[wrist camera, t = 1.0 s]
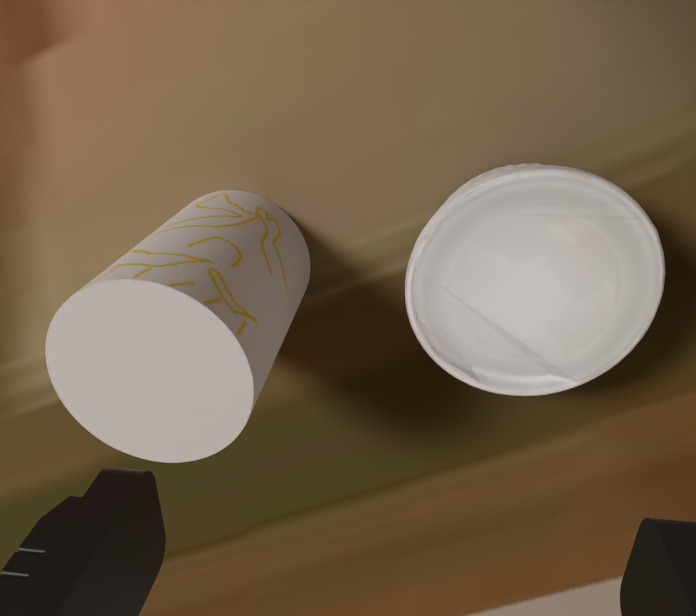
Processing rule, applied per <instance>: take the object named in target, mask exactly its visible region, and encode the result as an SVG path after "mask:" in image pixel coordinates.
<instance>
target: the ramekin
mask: <svg viewBox="0 0 696 616" xmlns="http://www.w3.org/2000/svg"><path fill="white" fill-rule="evenodd" d="M664 281H665V260H664V252H663V248H662V245H661V241H660V238H659V234H658V231H657V229H656V228H655V226H654V225H653V223H652V221H651V220H650V218H649V217H648V215H647V214H646V213H645V211H644V210H643V209H642V208H641V206H640V205H639V204H638V203H637V202H636V201H635V200H634V199H633V198H632V197H631V196H629V195H628V194H627V193H626V192H625V191H623V190H622V189H621V188H620V187H618V186H617V185H615V184H613V183H612V182H610V181H608V180H606V179H604V178H602V177H600V176H597V175H595V174H592V173H589V172H586V171H583V170H580V169H576V168H571V167H565V166H555V165H542V164H539V163H534V164H526V163H522V164H519V165H507V166H505V167H501V168H496V169H493V170H491V171H488V172H485V173H482V174H481V175H479V176H477V177H475V178H473V179H471V180H470V181H468V182H467V183H466V184H464V185H462V186H461V187H459V188H458V190H457V191H456V192H455V193H453V194H452V195H451V196H450V197H449V198H448V199H447V200H446V202H445V203H444V204H443V205H442V206H441V207H440V208H439V210H438V211H437V212H436V213H435V215H434V216H433V217H432V218H431V219H430V221H429V222H428V223H427V225H426V226H425V227H424V229H423V230H422V232H421V234H420V235H419V237H418V239H417V241H416V243H415V246H414V248H413V251H412V253H411V256H410V259H409V263H408V267H407V272H406V280H405V301H406V308H407V313H408V317H409V321H410V324H411V326H412V329H413V331H414V333H415V335H416V337H417V339H418V341H419V342H420V344H421V345H422V347H423V348H424V350H425V351H426V352H427V354H428V355H429V356H430V357H431V358H432V359H433V360H434V361H435V362H436V363H437V364H438V365H439V366H440V367H441V368H443V369H444V370H445V371H446V372H448V373H449V374H451V375H452V376H454V377H455V378H457V379H459V380H461V381H463V382H465V383H467V384H469V385H471V386H473V387H476V388H479V389H482V390H485V391H488V392H493V393H498V394H505V395H514V396H536V395H547V394H552V393H557V392H561V391H564V390H568V389H571V388H574V387H577V386H579V385H582V384H584V383H586V382H589V381H590V380H592V379H594V378H596V377H598V376H600V375H601V374H603V373H605V372H606V371H608V370H609V369H611V368H612V367H613V366H615V365H616V364H617V363H619V362H620V361H621V360H622V359H623V358H624V357H625V356H627V355H628V354H629V353H630V352H631V351H632V350H633V348H634V347H635V346H636V345H637V343H638V342H639V341H640V340H641V339H642V338H643V336H644V334H645V333H646V332H647V330H648V328H649V326H650V325H651V323H652V321H653V319H654V317H655V314H656V312H657V309H658V306H659V304H660V301H661V297H662V293H663V289H664Z"/></svg>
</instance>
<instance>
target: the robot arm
mask: <svg viewBox="0 0 696 616" xmlns="http://www.w3.org/2000/svg"><path fill="white" fill-rule="evenodd" d="M165 541H166V538H165V529H164V524H163V519H162V513H161V508H160V503H159V497H158V492H157V486H156V481H155V477H154V475H153V473H152V472H150V471H142V470H131V469H120V468H109V467H108V468H105V469H103V470H102V471H101V472H100V473H99V474H98V476H97V477H96V478H95V480H94V481H93V483H92V484H91V486H90V487H89V489H88V490H87V491H86V493H85V494H84V496H83V497H73V496H69V497H68V498H67V499H65V500H64V501H63V502H61V503H60V504H59V505H57V506H56V507H55V508H54V509H52V510H51V511H50V512H48V513H47V514H46V515H44V516H43V517H42V518H40V520H39V521H38V522H37V524H36V525H35V526H34V528H33V529H32V530H31V532H30V533H29V534H28V536H27V537H26V538H25V540H24V541H23V542H22V544H21V545H20V546H19V547H20V548H19V551H18V552H15V553H14V554H13V556H12V557H11V558H10V560H9V561H8V563H7V564H6V565H5V567H4V568H3V569H2V574H1V576H0V616H139V613H140V611H141V609H142V607H143V605H144V603H145V601H146V599H147V596H148V594H149V592H150V590H151V588H152V586H153V584H154V581H155V579H156V577H157V575H158V573H159V570H160V568H161V565H162V561H163V557H164V551H165ZM620 605H621V614H622V616H696V522H685V521H674V520H663V519H652V518H645V519H644V520H643V521H642V522H641V524H640V526H639V529H638V532H637V536H636V539H635V542H634V545H633V548H632V551H631V554H630V557H629V560H628V564H627V567H626V570H625V573H624V576H623V579H622V583H621V590H620Z"/></svg>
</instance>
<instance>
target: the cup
mask: <svg viewBox="0 0 696 616" xmlns="http://www.w3.org/2000/svg"><path fill="white" fill-rule="evenodd" d="M309 278H310V256H309V251H308V247H307V244H306V242H305V239H304V237H303V235H302V233H301V231H300V230H299V228H298V227H297V225H296V224H295V222H294V221H293V220H292V219H291V218H290V217H289V216H288V215H287V214H286V213H285V212H284V211H283V210H282V209H281V208H279V207H278V206H277V205H275V204H274V203H272V202H271V201H269V200H267V199H265V198H263V197H261V196H258V195H255V194H252V193H249V192H244V191H236V190H224V191H217V192H213V193H209V194H206V195H204V196H202V197H199V198H198V199H196V200H194V201H193V202H192V203H190V204H189V205H188V206H186V207H185V208H184V209H182V210H181V211H180V212H179V213H177V214H176V215H175V216H173V217H172V218H171V219H170V220H168V221H167V222H166V223H165V224H163V225H162V226H161V227H159V228H158V229H157V230H156V231H154V232H153V233H152V234H150V235H149V236H148V237H147V238H145V239H144V240H143V241H142V242H140V243H139V244H138V245H136V246H135V247H134V248H133V249H131V250H130V251H129V252H127V253H126V254H125V255H124V256H122V257H121V258H120V259H119V260H117V261H116V262H115V263H113V264H112V265H111V266H110V267H108V268H107V269H106V270H104V271H103V272H102V273H101V274H99V275H98V276H97V277H95V278H94V279H93V280H92V281H90V282H89V283H88V284H87V285H85V286H84V287H83V288H81V289H80V290H79V291H78V292H76V293H75V294H74V295H72V296H71V297H70V298H69V299H68V300H67V301H65V303H64V304H63V305H62V306H61V307H60V308H59V310H58V311H57V312H56V314H55V316H54V317H53V319H52V322H51V324H50V327H49V329H48V333H47V338H46V350H45V352H46V363H47V368H48V372H49V375H50V379H51V381H52V384H53V386H54V388H55V390H56V392H57V394H58V396H59V398H60V399H61V401H62V402H63V404H64V405H65V407H66V408H67V409H68V411H69V412H70V413H71V414H72V415H73V417H74V418H75V419H76V420H77V421H78V422H79V423H80V424H81V425H82V426H83V427H84V428H86V429H87V430H88V431H89V432H90V433H92V434H93V435H94V436H96V437H97V438H98V439H100V440H102V441H103V442H105V443H106V444H108V445H110V446H112V447H114V448H116V449H118V450H120V451H122V452H124V453H127V454H130V455H132V456H135V457H139V458H142V459H147V460H151V461H157V462H170V463H175V462H188V461H194V460H198V459H202V458H205V457H208V456H210V455H213V454H215V453H217V452H219V451H220V450H222V449H223V448H225V447H226V446H228V445H229V444H230V443H231V442H232V441H233V440H234V439H235V438H236V437H237V436H238V435H239V434H240V432H241V431H242V430H243V428H244V426H245V425H246V423H247V421H248V418H249V416H250V414H251V412H252V410H253V407H254V405H255V403H256V401H257V398H258V396H259V394H260V392H261V389H262V387H263V385H264V383H265V381H266V378H267V376H268V374H269V372H270V369H271V367H272V365H273V363H274V360H275V358H276V356H277V354H278V352H279V349H280V347H281V345H282V343H283V340H284V338H285V336H286V334H287V331H288V329H289V327H290V325H291V323H292V320H293V318H294V316H295V314H296V311H297V309H298V307H299V305H300V302H301V300H302V298H303V296H304V294H305V291H306V289H307V286H308V283H309Z"/></svg>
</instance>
